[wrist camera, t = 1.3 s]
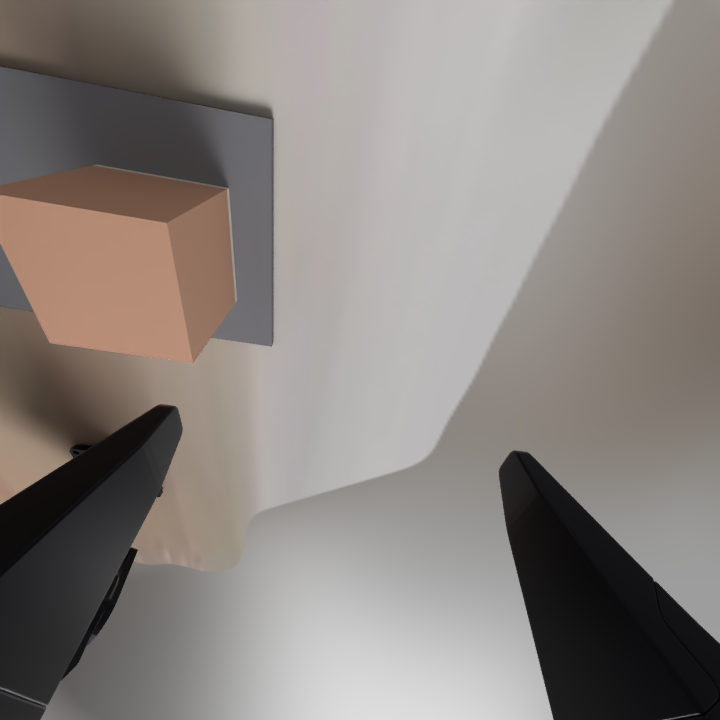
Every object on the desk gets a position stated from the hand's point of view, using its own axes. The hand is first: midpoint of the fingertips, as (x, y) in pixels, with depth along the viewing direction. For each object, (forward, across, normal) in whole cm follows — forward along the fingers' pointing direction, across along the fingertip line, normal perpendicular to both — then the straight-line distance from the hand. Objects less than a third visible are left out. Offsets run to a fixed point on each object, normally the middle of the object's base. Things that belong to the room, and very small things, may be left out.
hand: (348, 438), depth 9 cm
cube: (+12, +10, 0) cm, 15 cm away
